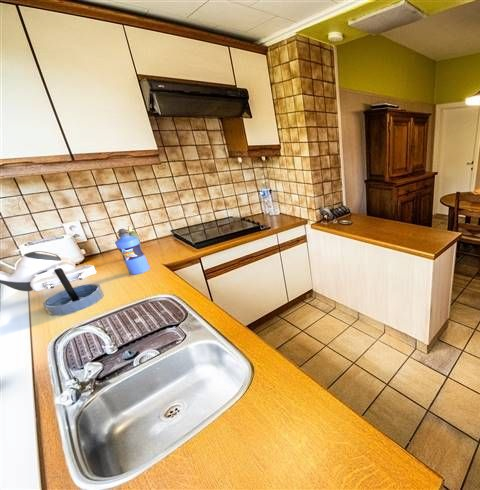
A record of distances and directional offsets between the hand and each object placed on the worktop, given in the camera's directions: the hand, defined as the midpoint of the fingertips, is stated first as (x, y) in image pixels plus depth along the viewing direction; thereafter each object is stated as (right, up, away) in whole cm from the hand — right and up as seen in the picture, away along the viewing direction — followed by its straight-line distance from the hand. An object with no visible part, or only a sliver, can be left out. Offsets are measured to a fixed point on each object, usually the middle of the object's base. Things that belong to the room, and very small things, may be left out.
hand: (66, 282), depth 117 cm
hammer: (+4, -10, +2) cm, 11 cm away
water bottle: (+6, +2, +31) cm, 32 cm away
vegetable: (-11, +10, +52) cm, 54 cm away
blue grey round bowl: (+4, -11, +2) cm, 12 cm away
